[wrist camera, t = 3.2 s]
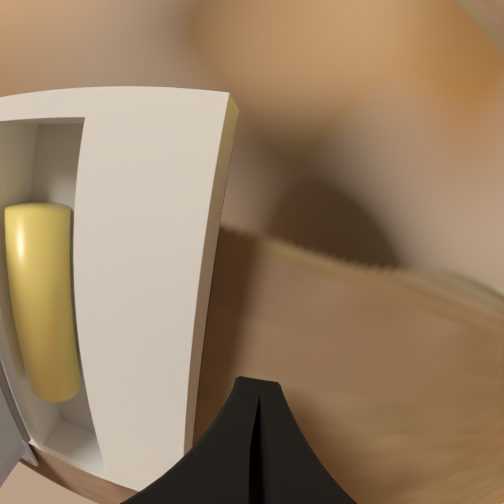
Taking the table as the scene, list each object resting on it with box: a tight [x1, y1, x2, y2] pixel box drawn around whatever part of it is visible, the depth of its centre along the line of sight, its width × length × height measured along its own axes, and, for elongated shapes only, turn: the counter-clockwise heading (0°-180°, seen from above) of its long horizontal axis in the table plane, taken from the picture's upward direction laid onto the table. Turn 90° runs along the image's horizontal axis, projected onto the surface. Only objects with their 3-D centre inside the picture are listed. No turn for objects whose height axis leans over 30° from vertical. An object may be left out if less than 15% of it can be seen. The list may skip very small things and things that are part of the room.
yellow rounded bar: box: [5, 202, 82, 402], centre depth 11 cm, size 9×3×3 cm, turn 169°
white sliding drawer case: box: [0, 86, 239, 491], centre depth 12 cm, size 20×11×3 cm, turn 170°
